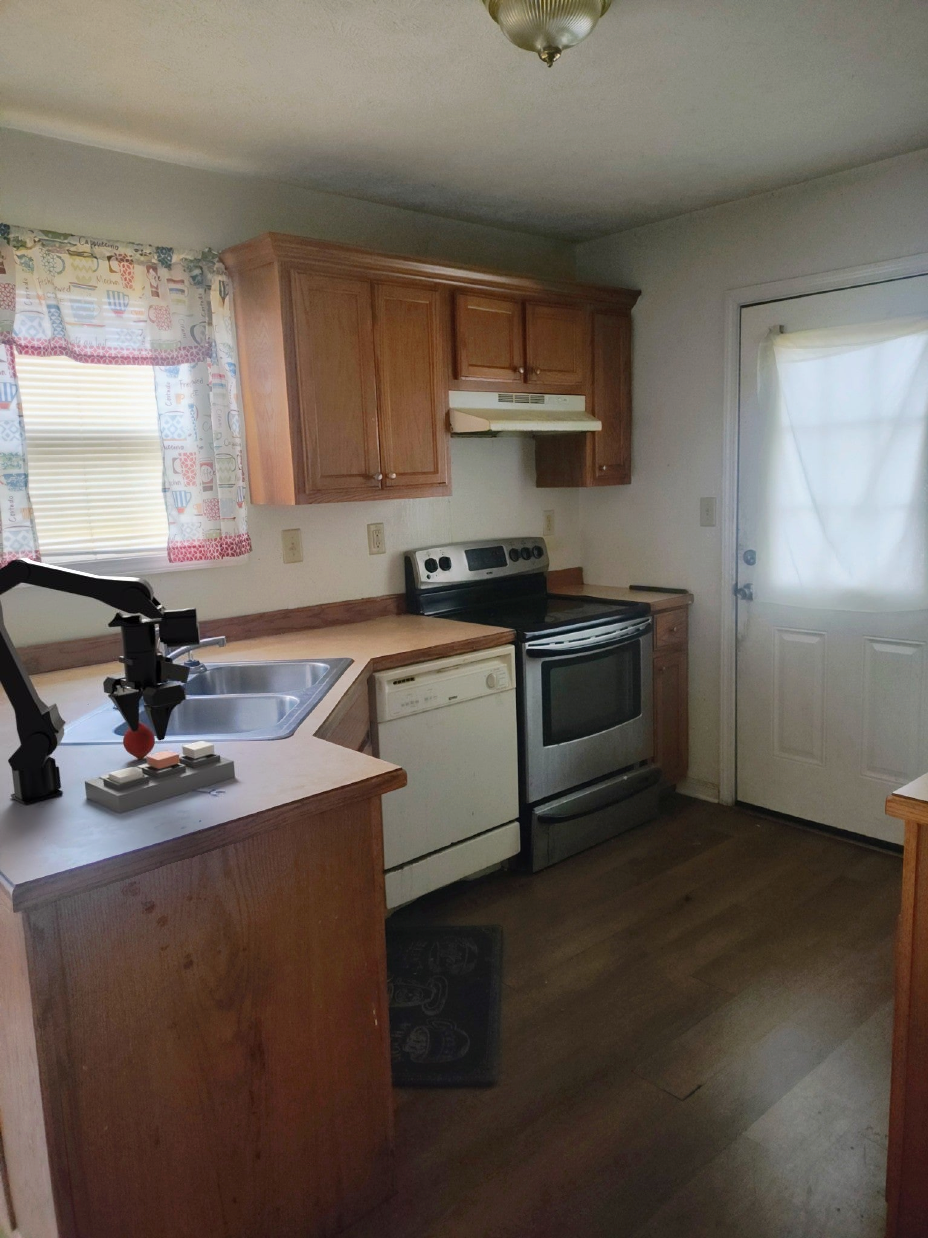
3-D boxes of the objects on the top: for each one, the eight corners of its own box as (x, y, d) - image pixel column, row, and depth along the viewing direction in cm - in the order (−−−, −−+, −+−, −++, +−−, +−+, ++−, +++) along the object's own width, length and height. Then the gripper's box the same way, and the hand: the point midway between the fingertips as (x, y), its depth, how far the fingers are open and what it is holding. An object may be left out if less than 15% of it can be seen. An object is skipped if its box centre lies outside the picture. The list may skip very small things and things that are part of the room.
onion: (146, 752, 174) (142, 714, 173) (162, 757, 170) (158, 718, 169) (119, 760, 170) (115, 721, 168) (135, 765, 166) (131, 725, 165)
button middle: (158, 769, 149) (157, 760, 149) (147, 764, 152) (146, 755, 151) (179, 763, 152) (178, 754, 152) (167, 758, 154) (167, 750, 154)
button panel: (120, 813, 141) (117, 790, 140) (86, 797, 149) (84, 775, 148) (235, 776, 157) (233, 755, 157) (199, 764, 165) (197, 744, 164)
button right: (194, 758, 154) (194, 750, 154) (182, 754, 157) (182, 746, 156) (214, 753, 157) (213, 744, 157) (202, 749, 160) (201, 740, 159)
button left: (120, 787, 144) (119, 777, 144) (109, 782, 147) (108, 773, 146) (143, 780, 147) (142, 771, 147) (131, 775, 150) (130, 767, 149)
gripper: (209, 647, 151) (216, 733, 154) (155, 638, 164) (162, 717, 166) (150, 658, 143) (158, 749, 146) (98, 647, 155) (106, 731, 158)
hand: (147, 735), depth 154 cm, fingers open, 9 cm apart
